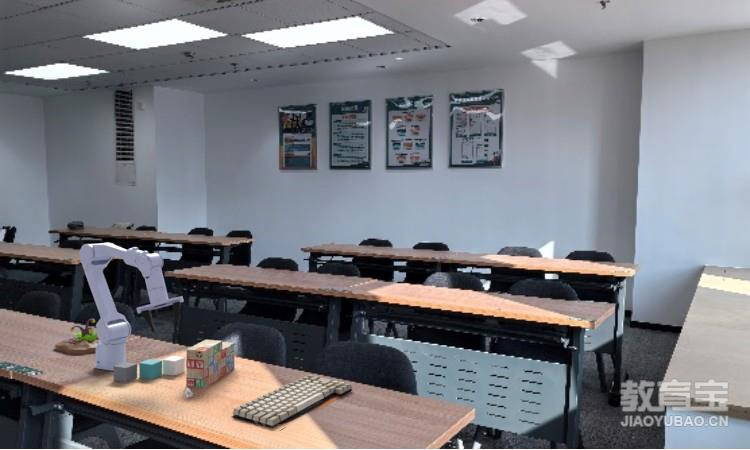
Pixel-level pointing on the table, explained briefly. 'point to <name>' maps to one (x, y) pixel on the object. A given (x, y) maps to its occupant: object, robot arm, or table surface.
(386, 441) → the table surface
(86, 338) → the plant
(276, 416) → the mechanical keyboard
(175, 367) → the cream block
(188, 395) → the power adapter
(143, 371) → the teal block
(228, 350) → the stack of blocks
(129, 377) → the charcoal block
